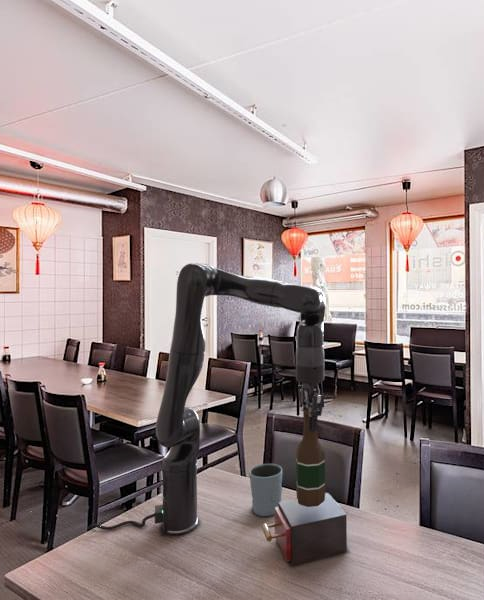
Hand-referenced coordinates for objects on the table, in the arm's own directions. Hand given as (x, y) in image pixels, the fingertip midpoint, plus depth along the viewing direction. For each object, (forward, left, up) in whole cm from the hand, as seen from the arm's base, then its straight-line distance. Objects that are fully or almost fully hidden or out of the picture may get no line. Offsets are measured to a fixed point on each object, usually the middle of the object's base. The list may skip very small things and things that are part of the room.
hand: (310, 427), depth 108 cm
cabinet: (0, 0, -31) cm, 31 cm away
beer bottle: (0, 0, -19) cm, 19 cm away
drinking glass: (-7, +22, -31) cm, 39 cm away
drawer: (-4, 0, -30) cm, 30 cm away
